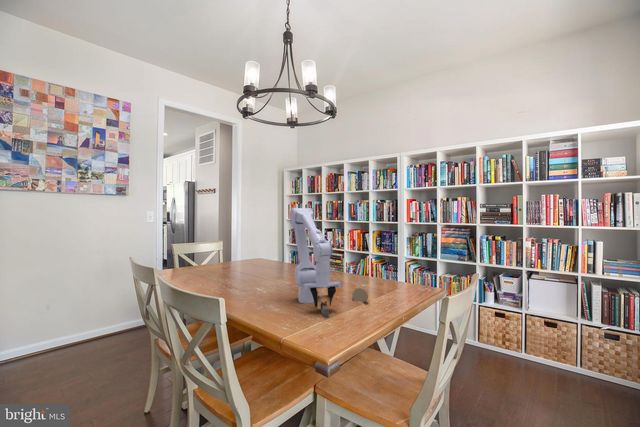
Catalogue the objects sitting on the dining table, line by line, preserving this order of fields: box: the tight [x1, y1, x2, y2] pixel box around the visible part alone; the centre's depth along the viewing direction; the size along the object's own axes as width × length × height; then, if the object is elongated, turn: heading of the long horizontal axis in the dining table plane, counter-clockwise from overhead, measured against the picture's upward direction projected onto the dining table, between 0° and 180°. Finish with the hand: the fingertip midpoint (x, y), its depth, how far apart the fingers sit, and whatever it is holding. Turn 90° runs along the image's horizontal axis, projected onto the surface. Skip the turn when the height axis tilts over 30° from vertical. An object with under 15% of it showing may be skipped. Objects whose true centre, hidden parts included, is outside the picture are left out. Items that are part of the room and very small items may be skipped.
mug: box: [351, 287, 369, 304], centre depth 135 cm, size 8×10×10 cm
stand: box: [318, 301, 330, 319], centre depth 118 cm, size 18×8×4 cm, turn 13°
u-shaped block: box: [316, 294, 331, 310], centre depth 118 cm, size 4×5×4 cm
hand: (322, 305), depth 118 cm, fingers closed on u-shaped block, 5 cm apart
